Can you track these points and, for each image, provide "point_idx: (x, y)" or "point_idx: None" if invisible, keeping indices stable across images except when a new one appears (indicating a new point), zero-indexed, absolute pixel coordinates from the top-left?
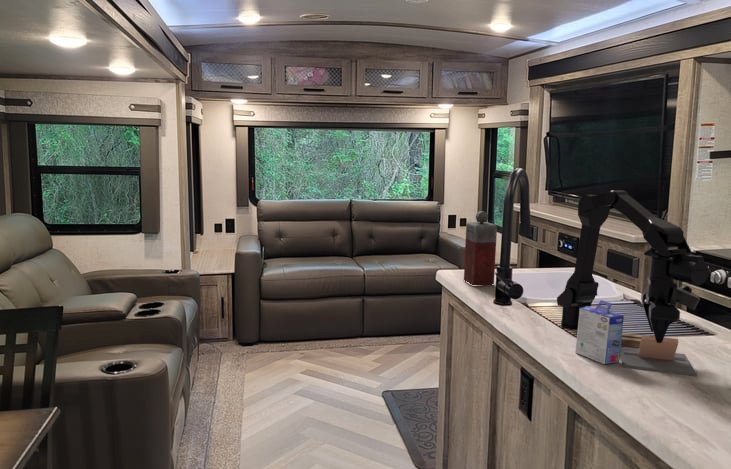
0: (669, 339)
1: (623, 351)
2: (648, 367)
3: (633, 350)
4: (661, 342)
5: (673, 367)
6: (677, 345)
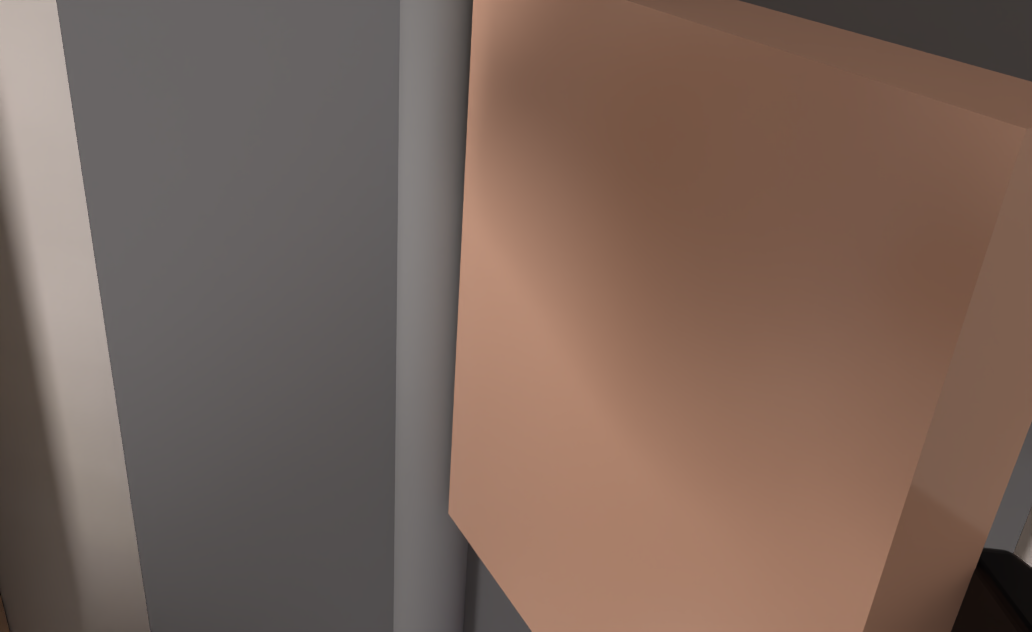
0: (978, 397)
1: (352, 625)
2: (1029, 471)
3: (242, 496)
4: (1010, 559)
5: (997, 59)
6: (998, 77)
